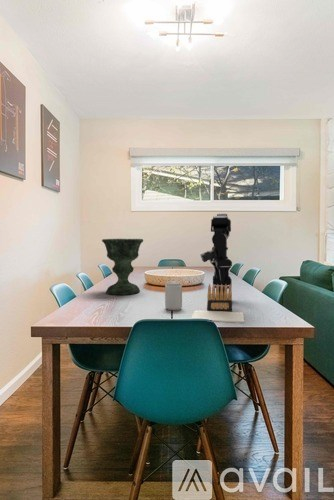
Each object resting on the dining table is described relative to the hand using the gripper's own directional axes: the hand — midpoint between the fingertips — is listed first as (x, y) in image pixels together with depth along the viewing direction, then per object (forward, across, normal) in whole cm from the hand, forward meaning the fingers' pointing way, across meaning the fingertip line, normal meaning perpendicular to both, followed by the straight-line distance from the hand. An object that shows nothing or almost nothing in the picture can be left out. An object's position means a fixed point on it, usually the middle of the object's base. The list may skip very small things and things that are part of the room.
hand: (219, 280), depth 146 cm
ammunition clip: (+13, +5, -1) cm, 14 cm away
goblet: (+14, -41, -46) cm, 63 cm away
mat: (+12, +14, -4) cm, 19 cm away
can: (+13, 0, -21) cm, 24 cm away
